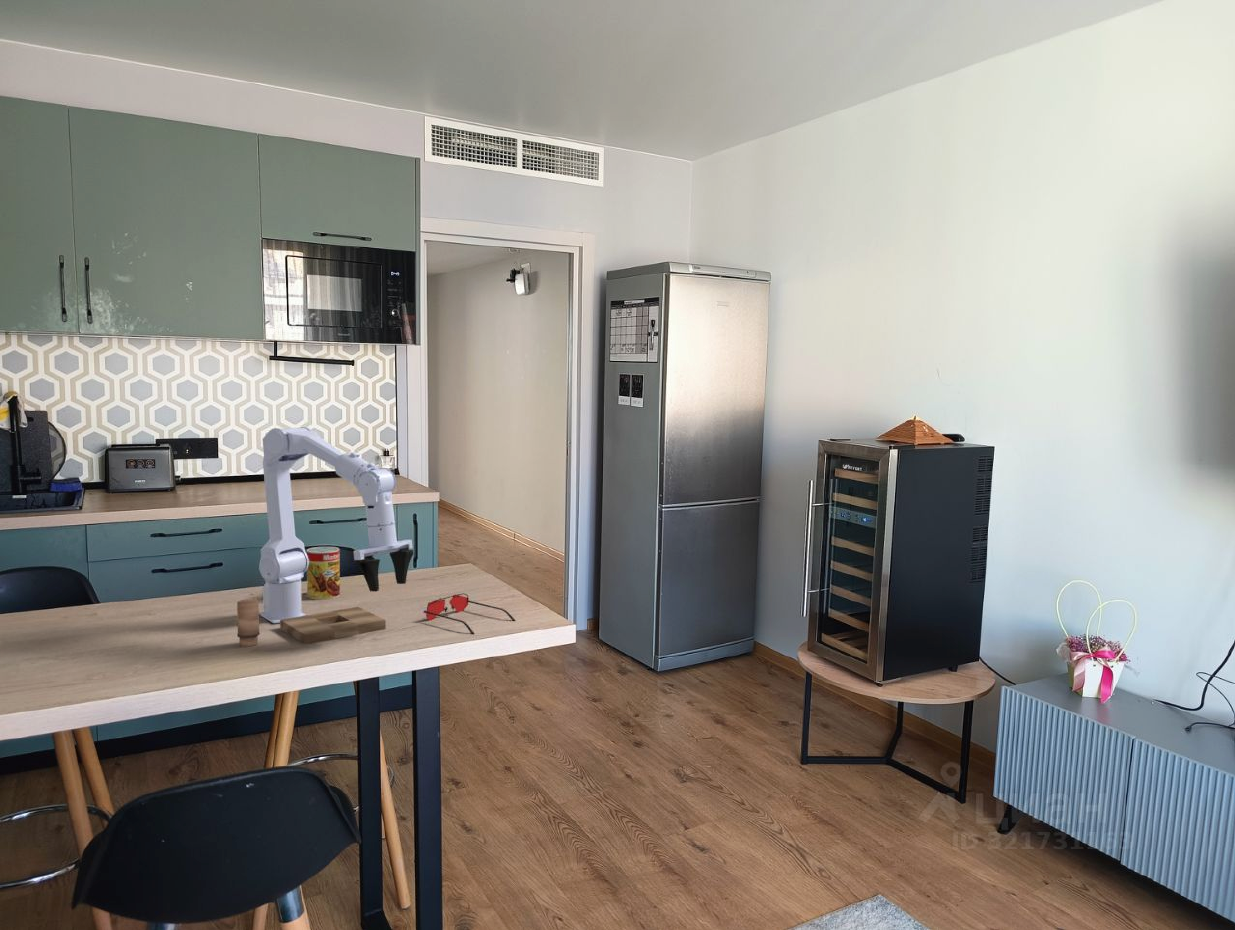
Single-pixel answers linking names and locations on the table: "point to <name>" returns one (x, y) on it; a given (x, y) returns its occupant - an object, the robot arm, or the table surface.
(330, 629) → the board
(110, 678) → the table surface
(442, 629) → the table surface
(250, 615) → the peg
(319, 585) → the canned food
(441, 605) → the glasses
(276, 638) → the table surface
